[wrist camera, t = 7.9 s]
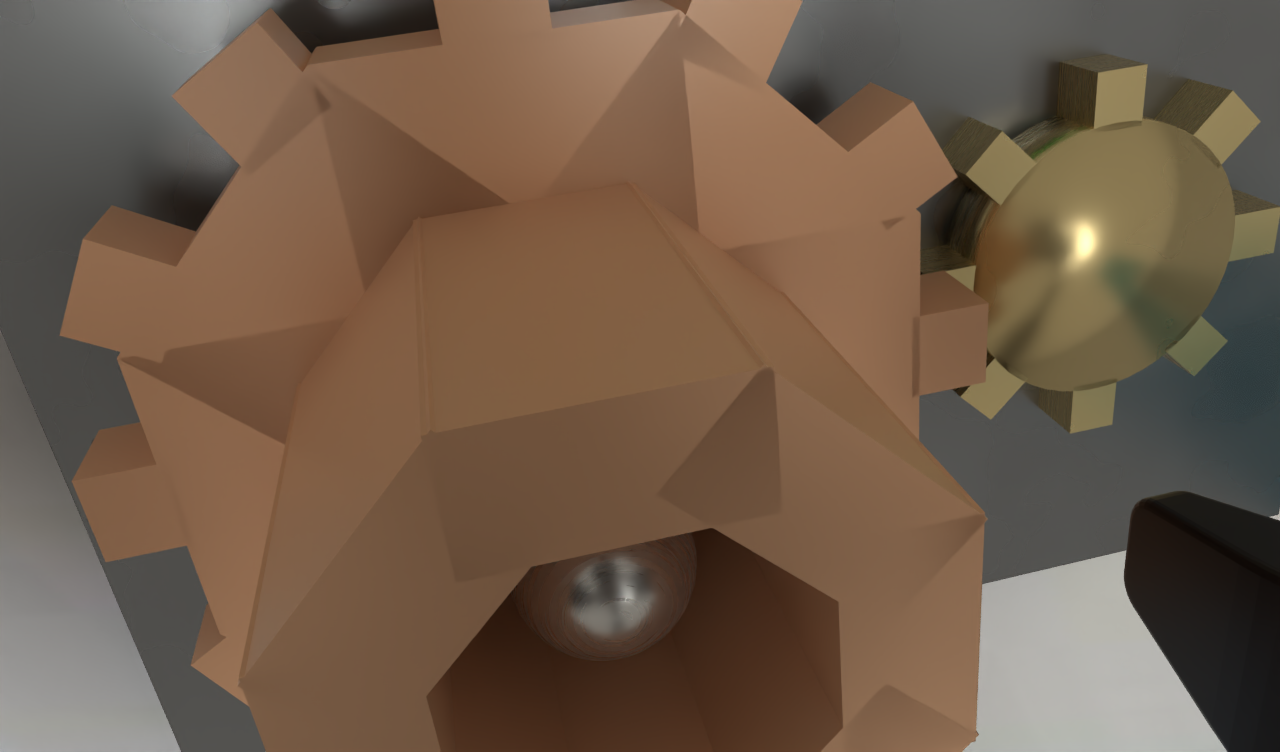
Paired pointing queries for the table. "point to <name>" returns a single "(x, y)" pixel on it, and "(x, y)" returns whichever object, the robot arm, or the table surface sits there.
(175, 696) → the carrier plate
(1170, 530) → the robot arm
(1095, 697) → the table surface
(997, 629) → the table surface
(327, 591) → the planet gear
